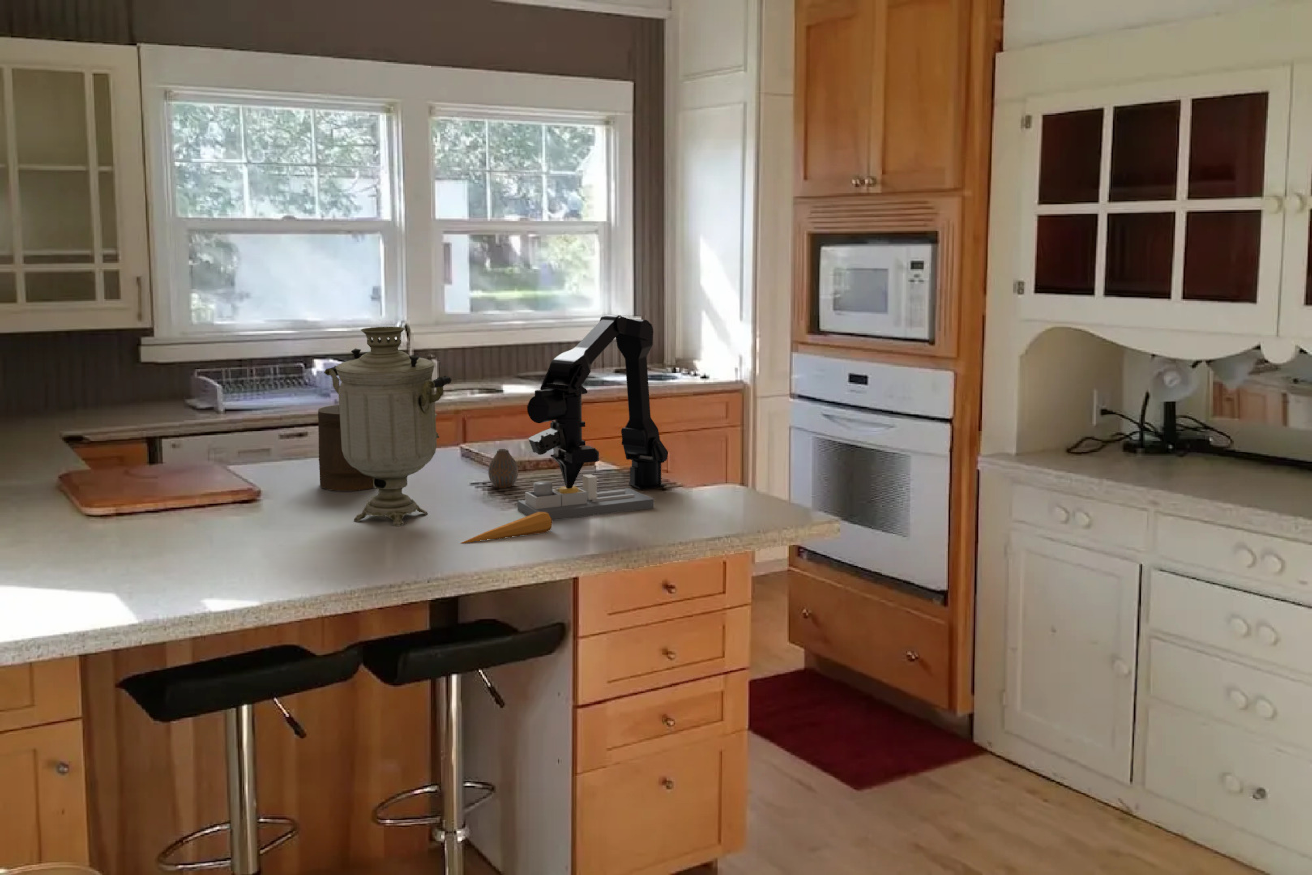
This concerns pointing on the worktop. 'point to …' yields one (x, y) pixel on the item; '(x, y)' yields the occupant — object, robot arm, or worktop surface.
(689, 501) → the worktop surface
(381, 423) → the samovar
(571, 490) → the amber button
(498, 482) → the vase
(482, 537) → the carrot
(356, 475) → the wooden container
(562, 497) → the panel
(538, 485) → the grey button
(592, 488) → the slider paddle
